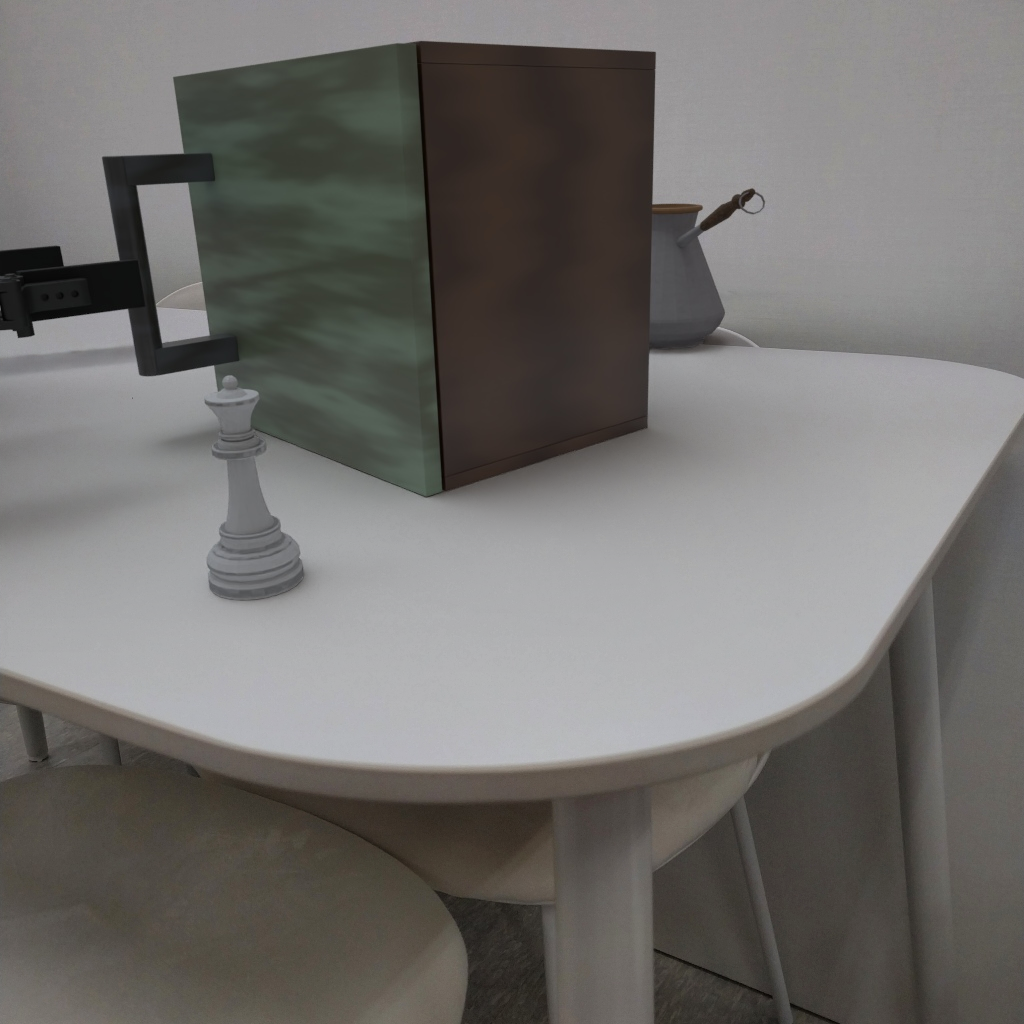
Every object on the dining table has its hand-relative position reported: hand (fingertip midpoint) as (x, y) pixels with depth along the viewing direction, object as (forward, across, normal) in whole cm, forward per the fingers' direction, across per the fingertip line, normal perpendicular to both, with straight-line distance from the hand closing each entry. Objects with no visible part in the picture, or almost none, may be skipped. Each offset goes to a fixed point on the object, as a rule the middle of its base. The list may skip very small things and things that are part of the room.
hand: (98, 273), depth 62 cm
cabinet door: (+6, +9, -12) cm, 16 cm away
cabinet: (+19, +9, -12) cm, 24 cm away
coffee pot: (+50, +8, -12) cm, 52 cm away
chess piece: (-4, +26, -12) cm, 29 cm away
